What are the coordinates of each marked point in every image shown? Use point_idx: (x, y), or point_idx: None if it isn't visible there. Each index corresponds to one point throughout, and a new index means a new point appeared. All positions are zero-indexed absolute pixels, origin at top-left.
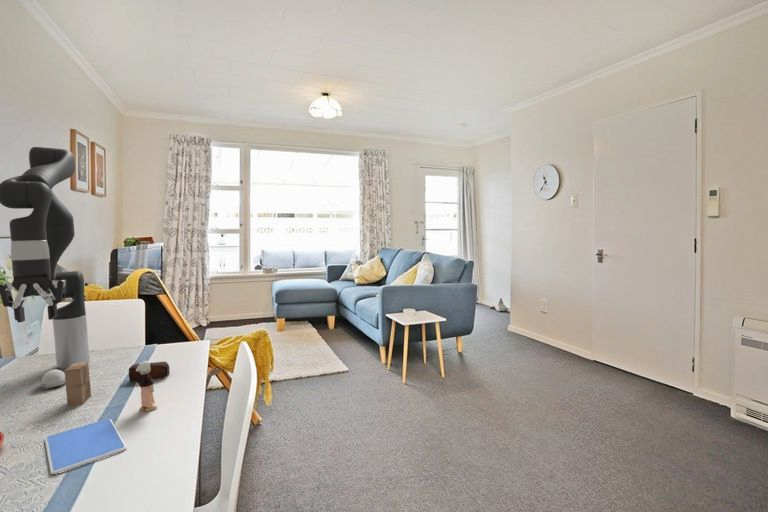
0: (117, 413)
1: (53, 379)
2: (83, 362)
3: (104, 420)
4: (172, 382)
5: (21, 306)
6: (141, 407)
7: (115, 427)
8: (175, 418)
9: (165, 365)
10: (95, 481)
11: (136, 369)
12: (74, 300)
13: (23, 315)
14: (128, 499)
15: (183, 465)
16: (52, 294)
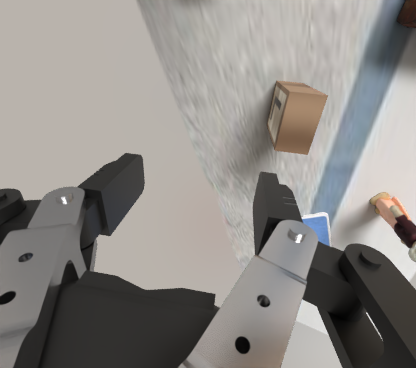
0: (338, 196)
1: None
2: (315, 99)
3: (320, 217)
4: None
5: (94, 210)
6: (374, 203)
7: (330, 241)
8: (401, 249)
9: None
10: (306, 306)
11: (411, 256)
12: None
13: (129, 177)
14: (325, 329)
15: (370, 320)
16: (301, 292)
